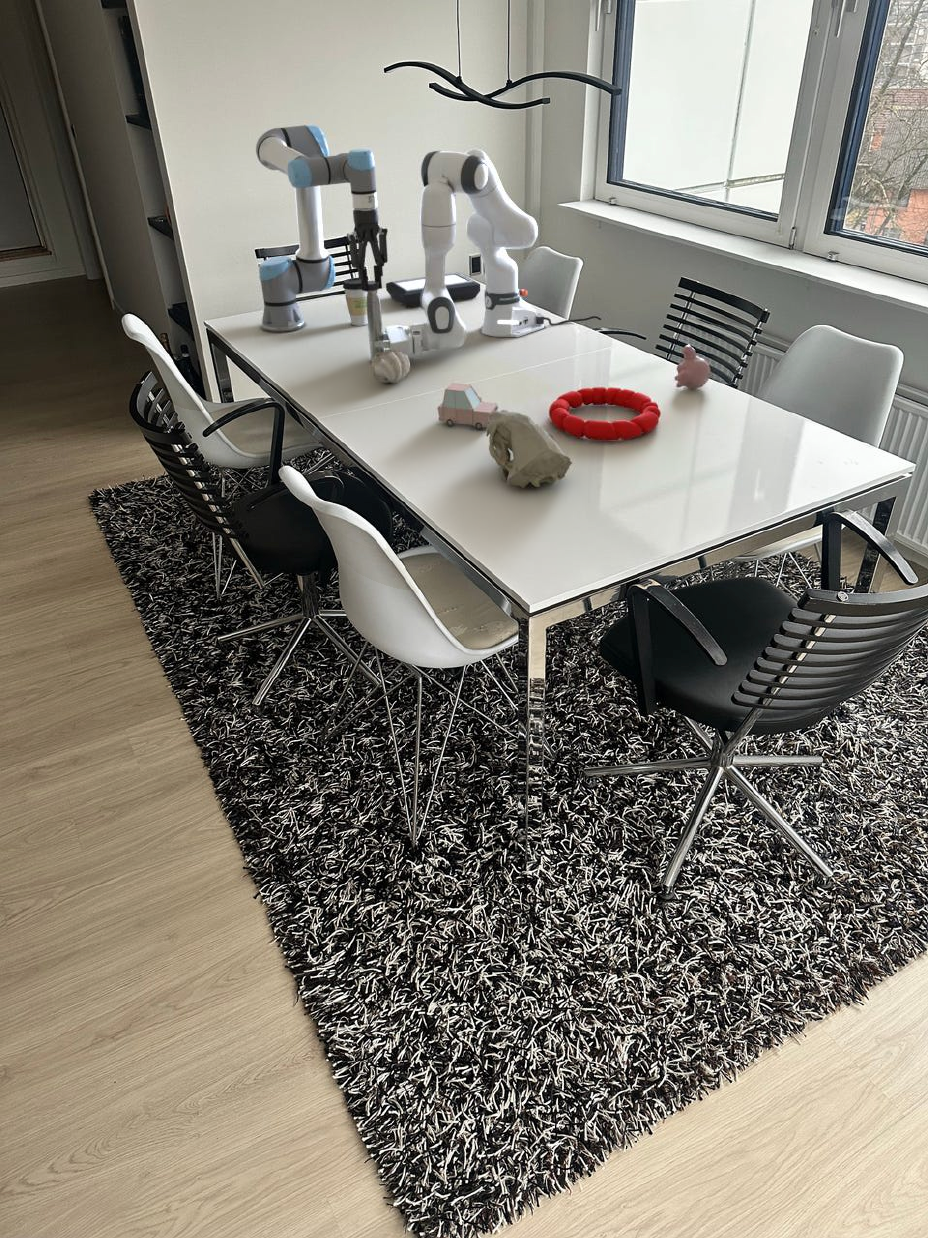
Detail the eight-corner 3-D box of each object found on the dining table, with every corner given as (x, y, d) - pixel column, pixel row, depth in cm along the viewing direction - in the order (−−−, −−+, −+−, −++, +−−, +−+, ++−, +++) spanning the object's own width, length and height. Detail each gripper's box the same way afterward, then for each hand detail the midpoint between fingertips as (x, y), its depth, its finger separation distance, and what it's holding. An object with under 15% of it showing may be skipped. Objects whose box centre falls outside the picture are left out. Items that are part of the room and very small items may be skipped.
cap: (372, 286, 281) (372, 279, 280) (382, 288, 279) (381, 281, 277) (361, 289, 279) (361, 282, 277) (371, 291, 276) (370, 284, 275)
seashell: (364, 381, 275) (361, 349, 270) (407, 372, 281) (405, 341, 275) (377, 391, 268) (374, 358, 262) (421, 382, 273) (420, 349, 268)
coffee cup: (372, 326, 323) (368, 283, 314) (345, 327, 323) (340, 284, 315) (374, 318, 331) (371, 276, 322) (348, 319, 331) (344, 277, 323)
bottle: (385, 362, 290) (379, 285, 276) (372, 364, 289) (365, 286, 275) (383, 358, 294) (377, 281, 280) (370, 359, 293) (363, 282, 279)
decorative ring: (589, 435, 224) (684, 402, 234) (527, 398, 247) (617, 369, 256) (589, 461, 229) (683, 427, 238) (529, 422, 251) (617, 393, 260)
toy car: (488, 432, 240) (488, 396, 234) (436, 426, 244) (434, 390, 239) (499, 419, 247) (499, 384, 241) (448, 413, 252) (447, 379, 246)
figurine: (665, 387, 264) (669, 347, 257) (693, 380, 268) (698, 340, 261) (686, 396, 257) (690, 355, 250) (714, 388, 262) (720, 348, 255)
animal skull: (496, 517, 219) (521, 479, 201) (463, 429, 225) (484, 384, 207) (557, 503, 225) (586, 465, 206) (523, 417, 231) (549, 373, 212)
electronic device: (403, 292, 336) (385, 281, 351) (404, 309, 340) (386, 297, 355) (480, 281, 346) (459, 270, 361) (480, 298, 350) (459, 286, 365)
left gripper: (346, 213, 259) (354, 296, 272) (396, 205, 267) (401, 286, 280) (333, 210, 264) (341, 291, 277) (382, 202, 272) (388, 281, 285)
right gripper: (411, 319, 296) (370, 322, 294) (419, 337, 279) (375, 340, 278) (412, 338, 300) (371, 341, 298) (420, 357, 283) (377, 360, 281)
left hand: (371, 288), depth 279 cm, fingers closed on cap, 4 cm apart
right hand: (373, 341), depth 288 cm, fingers closed on bottle, 4 cm apart
